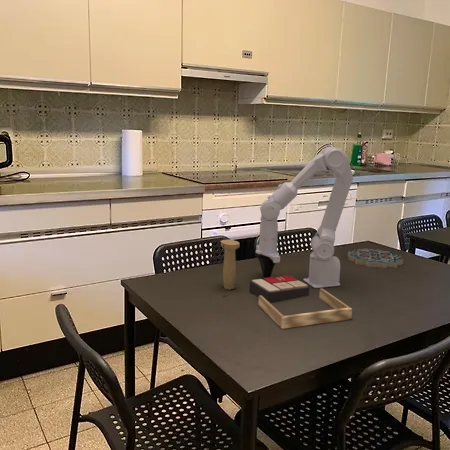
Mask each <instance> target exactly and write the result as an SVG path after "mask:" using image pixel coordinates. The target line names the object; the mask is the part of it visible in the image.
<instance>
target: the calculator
mask: <svg viewBox="0 0 450 450" xmlns="http://www.w3.org/2000/svg"><path fill="white" fill-rule="evenodd" d="M249 293H251V294H253V295H254V296H256V297H257V298H259V295H262V296H263V297H264V298H265V299H266V300H267V301H268V302H269V303H270V304H274V303H278V302H281V301H285V300H286V301H287V300H292V299H298V298H302V297H307V296H309V295H310V286H309V284H307V283H306V282H303V281H301V280H298V279H297V278H295V277H293V276H291V275H290V274H287V275H279V276H271V277H269V278H264V277H263V279H262V278H258V279H252V280H250V281H249Z"/></svg>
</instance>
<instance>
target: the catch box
mask: <svg viewBox="0 0 450 450" xmlns="http://www.w3.org/2000/svg"><path fill="white" fill-rule="evenodd" d="M318 298H319V300H321V301H323V302H324V303H325V304H327V305H328V306H329V307H331V308H332V309H327V310H319V311H312V312H311V311H310V312H305V313H304V312H303V313H296V314H289V315H283V314H282V312H280V311H279V310H278V309H277V308H276V307H275V306H274V305H273V304H272V303H269V302H268V301H267V300H266V299H265V298H264V297H263V296H262V295H259V297H258V307H259V308H261V310H263V311H264V312H265V314H266V315H267V316H269V317H270V318H271V320H272V321H273V322H275V323H276V325H278V326H279V327H280V329H282V330H283V329H289V328H291V329H292V328H296V327H297V328H298V327H305V326H306V327H307V326H312V325H320V324H325V323H326V324H327V323H331V322H332V323H333V322H339V321H340V322H341V321H346V320H347V321H348V320H351V319H352V315H353V308H352V307H350V306H349V305H347V304H346V303H344V302H343V301H341V300H340V299H339V298H337V297H336V296H334V294H333V295H332V294H331V293H330V292H328V291H327V290H325V289H324V288H323V287H322V288H319V297H318Z"/></svg>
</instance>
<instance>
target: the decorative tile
mask: <svg viewBox="0 0 450 450" xmlns="http://www.w3.org/2000/svg"><path fill="white" fill-rule="evenodd" d="M347 257H348V261H352V262H355V264H356V265H363V266H366V267H367V268H380V269H388V268H398V266H401V265H403V264H404V258H402V255H401V254H398V253H394V252H393V251H391V250H384V249H381V248H369V247H365V248H354V250H348V251H347Z"/></svg>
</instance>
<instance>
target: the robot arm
mask: <svg viewBox="0 0 450 450" xmlns="http://www.w3.org/2000/svg"><path fill="white" fill-rule="evenodd" d="M327 168H328V169H329V170H330V171H331V174H332V175H333V178H335V180H334V183H333V186H332V190H331V192H330V196H329V199H328V202H327V205H326V208H325V211H324V213H323V217H322V220H321V223H320V225H319V227H318V229H317V231H316V233H315V235H314V236H312V238H311V240H310V247H311V249H312V252H311V253H310V254H309V268H308V277H307V278H306V277H305V278H303V281H304V283H306V284H307V285H310V286H311V287H313V288H314V289H321V288H322V289H323V288H329V287H338V286H341V283H340V278H341V276H340V275H341V261H340V259H339V257H337V256H336V255H335V256H334V254H335V245H334V244H335V241H336V232H337V228H338V225H339V222H340V219H341V215H342V214H343V211H344V207H345V204H346V201H347V199H348V194H349V191H350V189H351V186H352V183H353V179H354V176H353V170H352V167H351V164H350V158H349V156H348V155H347V154H346V152H345V151H344V150H343V149H341V148H339V147H337V146H333V145H332V146H327V147H325V148H323V150H322V151H321V152H319V153H318V154H316V155H315V156H314V157H313V158H312V159H311V160H310V161H309V162H308V163H307V164H306V165H305V166H304V167H303V168H302V170H301V171H299V173H298V174H297V175H296V176H295V177H294V178H293V179H292V180H291V181H288V182H286V181H285V182H283V183H280V184H278V186H277V187H278V188H277V189H276V190H275V191H274V192H272V194H271V195H268V196H267V197H266V200H264V201H262V203H261V204H260V207H259V210H260V214H261V215H260V223H259V244H256V249H255V253H256V254H257V260H258V261H259V265H260V267H261V268H260V269H261V273H262V277H263V278H269V277H272V273H273V270H274V267H275V266H276V264H278V263H281V255H279V251H278V233H279V232H278V229H279V223H278V218H279V215H280V213H281V211H283V210H284V209H285V208H286V207H287V206H289V204H290V203H291V202H292V201H294V200H295V198H296V197H297V196H298V189H300V188H301V187H302V186H303V185H304V184H306V183H307V182H308V181H309V180H310V179H311V178H312V177H314V175H315V174H317V173H319V172H324V171H325V172H326V171H328V169H327Z"/></svg>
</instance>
